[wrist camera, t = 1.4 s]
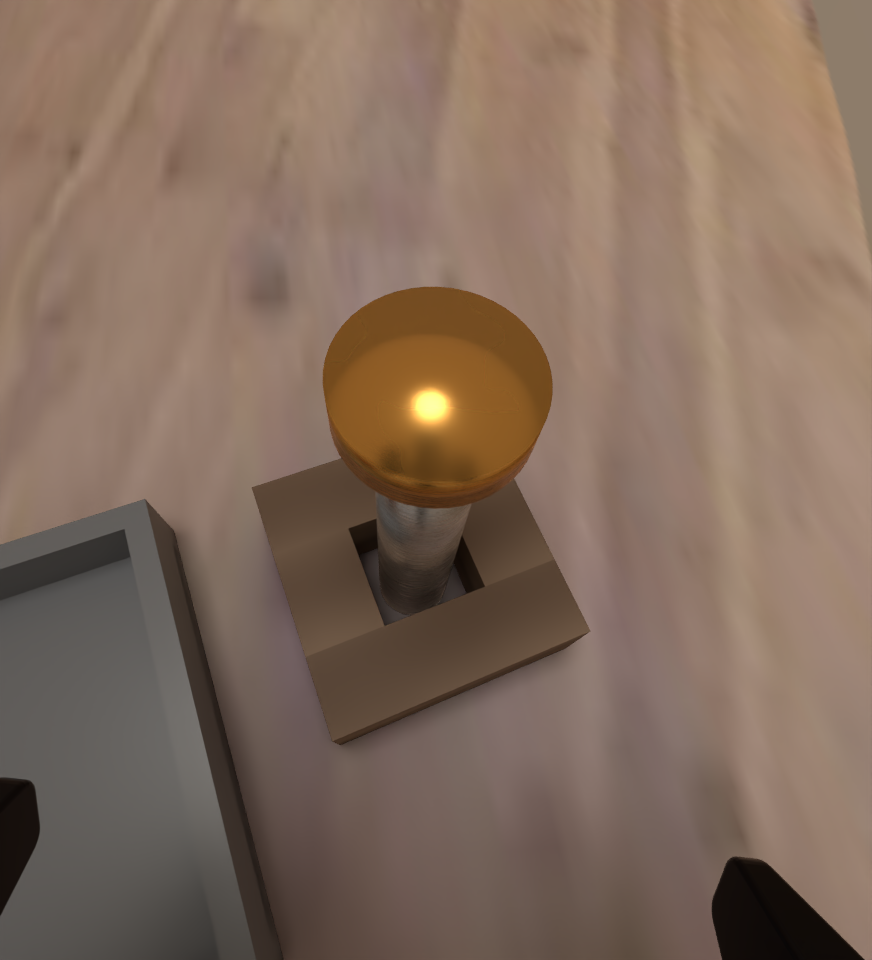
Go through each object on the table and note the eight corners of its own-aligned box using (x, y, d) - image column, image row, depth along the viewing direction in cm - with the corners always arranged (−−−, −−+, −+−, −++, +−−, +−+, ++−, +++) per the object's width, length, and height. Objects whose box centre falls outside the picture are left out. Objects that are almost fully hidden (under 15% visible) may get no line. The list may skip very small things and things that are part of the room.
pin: (484, 613, 22) (592, 436, 11) (380, 655, 22) (369, 513, 10) (441, 516, 24) (495, 264, 12) (342, 552, 23) (292, 318, 11)
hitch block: (565, 648, 22) (590, 631, 19) (339, 745, 20) (332, 741, 18) (471, 451, 25) (481, 413, 22) (267, 520, 23) (251, 487, 21)
